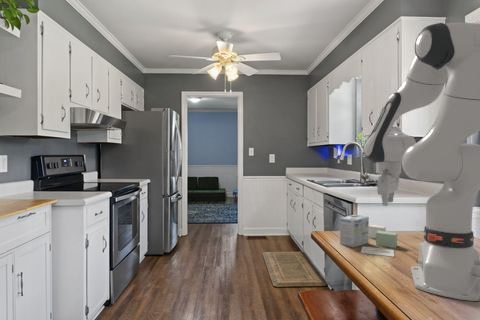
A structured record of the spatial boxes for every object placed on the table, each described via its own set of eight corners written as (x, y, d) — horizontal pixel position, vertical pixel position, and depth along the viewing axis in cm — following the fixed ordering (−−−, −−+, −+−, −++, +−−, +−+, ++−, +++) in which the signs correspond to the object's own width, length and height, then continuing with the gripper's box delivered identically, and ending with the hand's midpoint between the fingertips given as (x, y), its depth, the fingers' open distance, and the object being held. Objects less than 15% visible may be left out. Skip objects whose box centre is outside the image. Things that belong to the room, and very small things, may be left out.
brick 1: (383, 239, 132) (383, 228, 132) (366, 237, 136) (366, 225, 136) (385, 237, 135) (385, 226, 135) (368, 235, 139) (368, 224, 139)
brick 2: (395, 248, 121) (395, 235, 120) (375, 245, 125) (375, 232, 124) (397, 245, 124) (397, 233, 124) (378, 242, 128) (378, 230, 128)
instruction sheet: (394, 257, 110) (394, 256, 110) (360, 252, 115) (360, 252, 115) (394, 250, 117) (394, 249, 117) (362, 246, 122) (362, 246, 122)
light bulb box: (354, 239, 132) (354, 214, 132) (369, 243, 127) (369, 216, 127) (339, 244, 126) (339, 217, 126) (354, 248, 121) (354, 220, 120)
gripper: (391, 170, 113) (391, 208, 114) (402, 167, 130) (401, 201, 130) (373, 170, 117) (372, 206, 118) (385, 167, 133) (385, 199, 134)
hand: (387, 203), depth 124 cm, fingers open, 8 cm apart
